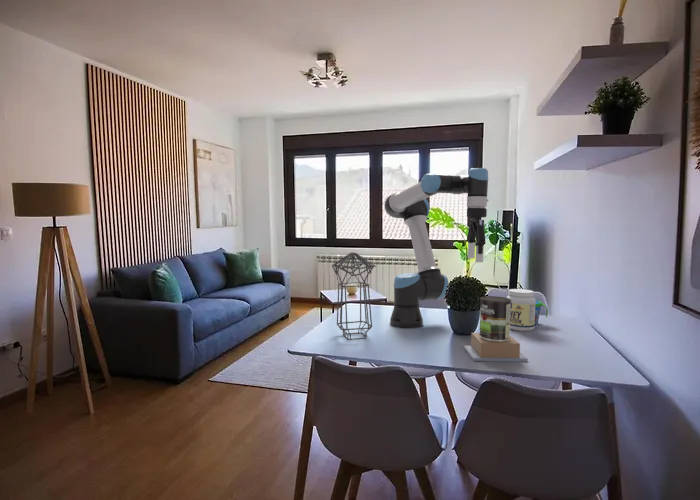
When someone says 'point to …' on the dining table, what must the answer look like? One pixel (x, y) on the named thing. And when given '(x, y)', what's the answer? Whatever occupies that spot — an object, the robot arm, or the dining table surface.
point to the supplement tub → (522, 309)
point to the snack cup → (537, 310)
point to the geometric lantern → (353, 286)
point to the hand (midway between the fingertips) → (474, 260)
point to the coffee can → (495, 318)
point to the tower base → (494, 350)
